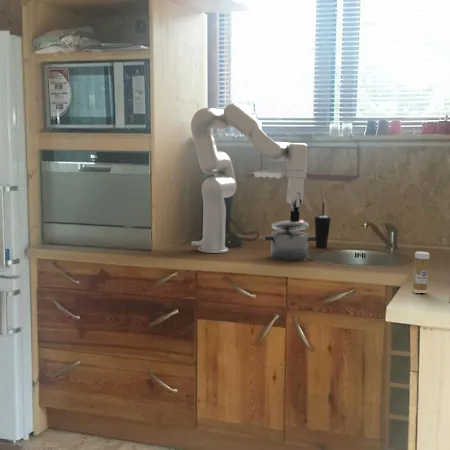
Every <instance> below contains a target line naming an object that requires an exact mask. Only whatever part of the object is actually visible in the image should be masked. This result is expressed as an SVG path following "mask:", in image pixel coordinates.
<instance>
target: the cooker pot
mask: <svg viewBox="0 0 450 450" xmlns="http://www.w3.org/2000/svg"><path fill="white" fill-rule="evenodd" d="M263 241H270V243H271V244H270V258H271V259H273V260H276V261H283V260H285V262H299V261H298V260H303V261H305V260H304V259H307V260H308V254H309V252H308V251H309V242H316V237H315V235H314V236H313V235H312V236H311V235H310V236H309V233H307V232H303V231H299V230H297V231H281V230H275V231H272V232H271V235H263Z"/></svg>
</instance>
